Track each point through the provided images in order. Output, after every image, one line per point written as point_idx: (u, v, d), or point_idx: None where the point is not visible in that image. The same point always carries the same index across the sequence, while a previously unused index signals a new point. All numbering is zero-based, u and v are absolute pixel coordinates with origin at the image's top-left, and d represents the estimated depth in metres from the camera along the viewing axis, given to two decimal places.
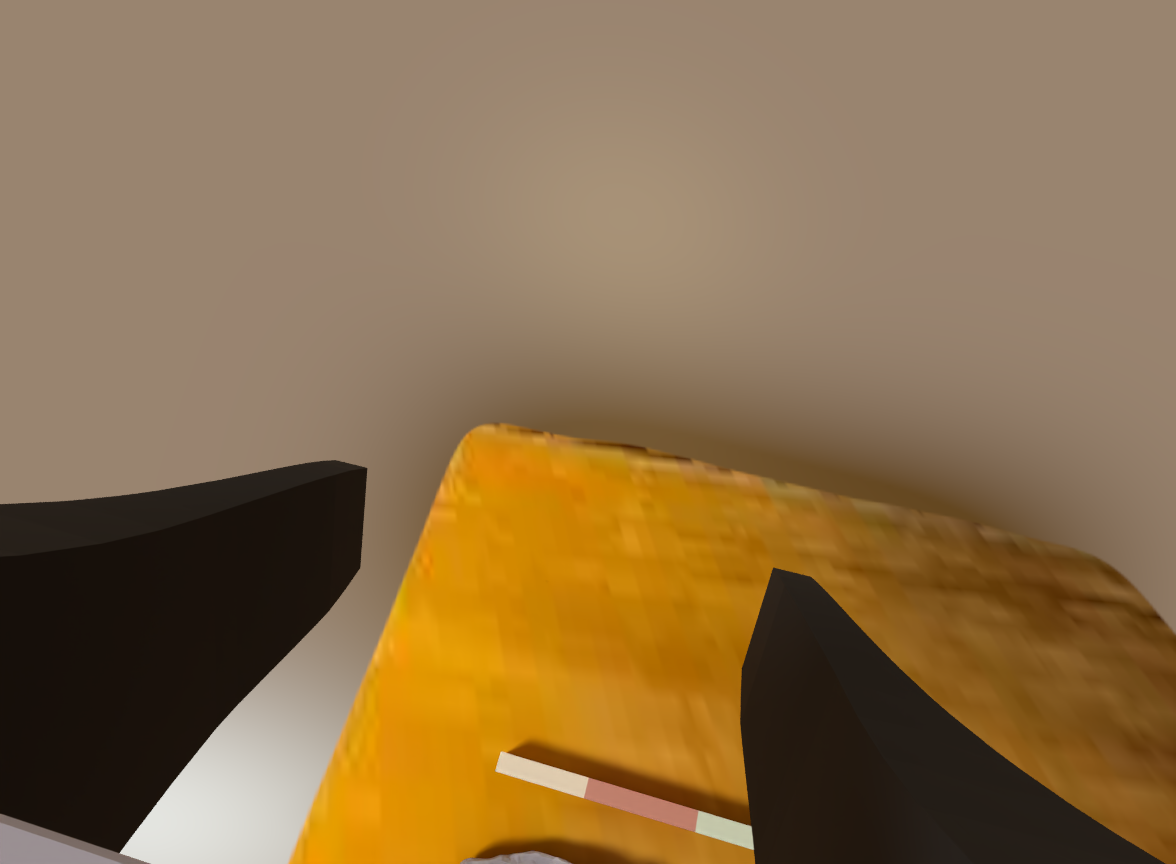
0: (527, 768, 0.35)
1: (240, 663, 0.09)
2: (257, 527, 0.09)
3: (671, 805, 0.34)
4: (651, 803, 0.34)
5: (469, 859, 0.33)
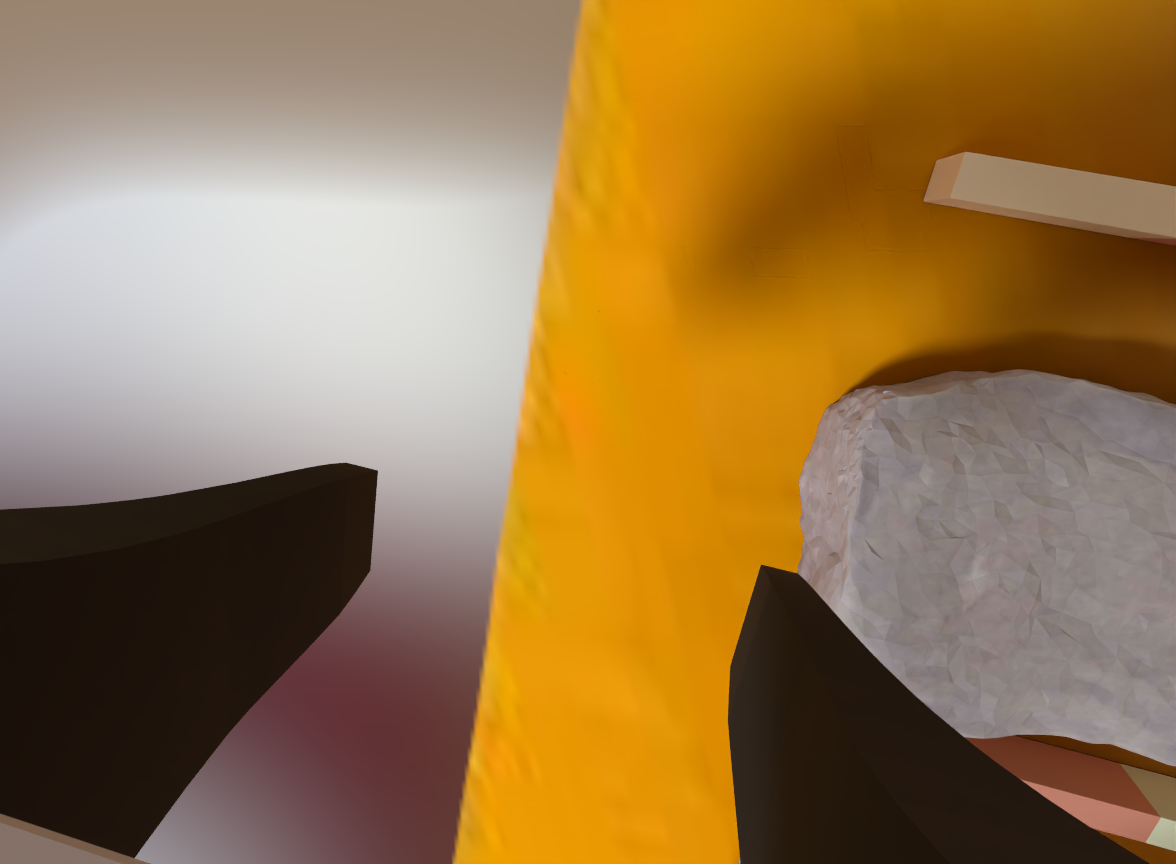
0: (1035, 184, 0.15)
1: (253, 667, 0.09)
2: (270, 530, 0.09)
3: None
4: None
5: (887, 393, 0.16)
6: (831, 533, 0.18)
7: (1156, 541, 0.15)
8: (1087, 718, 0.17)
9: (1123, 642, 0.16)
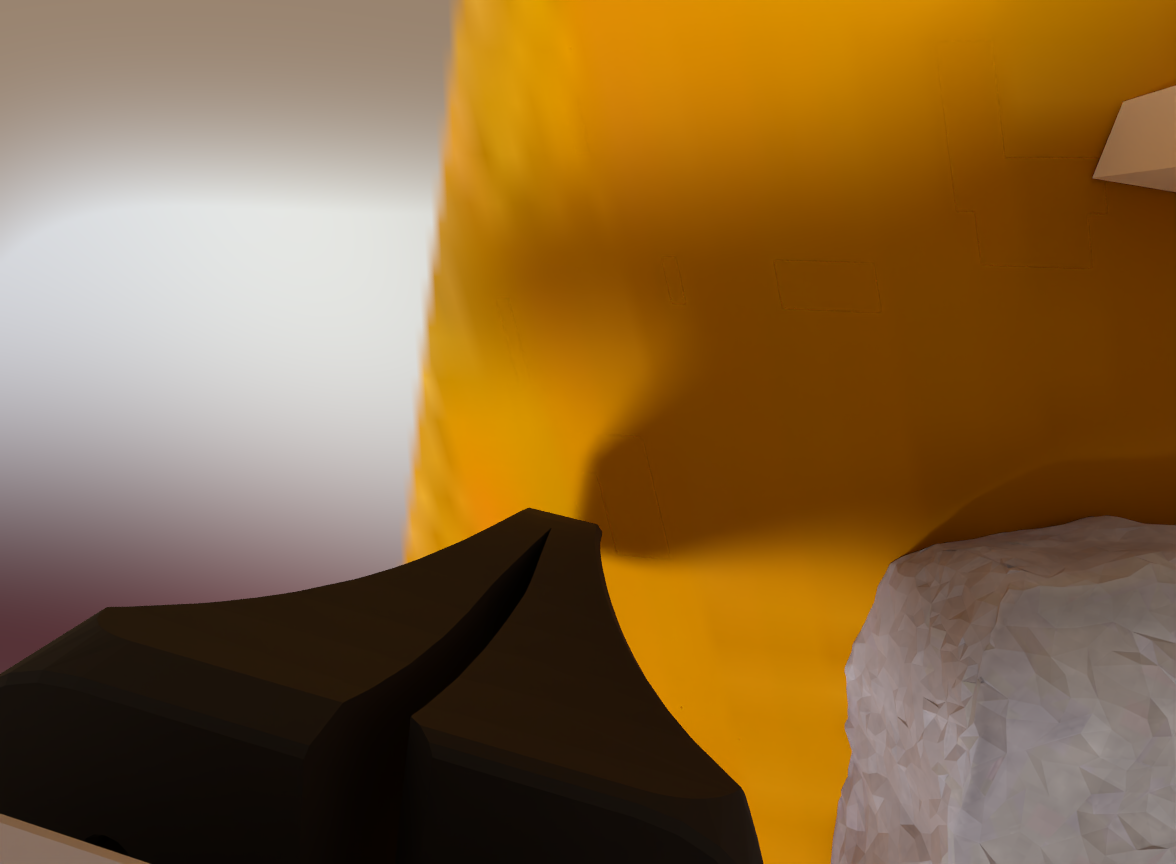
0: None
1: None
2: (507, 592, 0.08)
3: None
4: None
5: (1017, 575, 0.09)
6: (906, 790, 0.10)
7: None
8: None
9: None
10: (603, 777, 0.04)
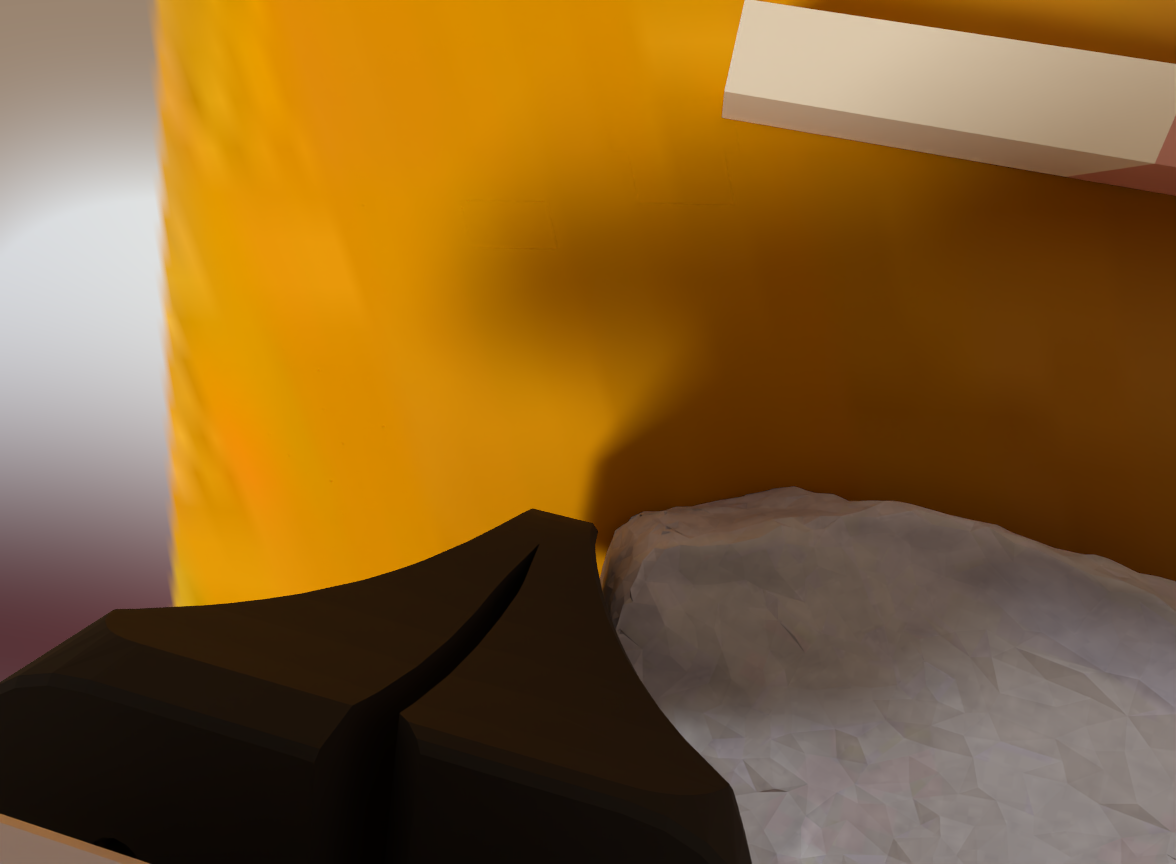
0: (876, 61, 0.08)
1: None
2: (512, 593, 0.08)
3: None
4: None
5: (667, 535, 0.10)
6: None
7: (1111, 820, 0.09)
8: None
9: None
10: (591, 771, 0.04)
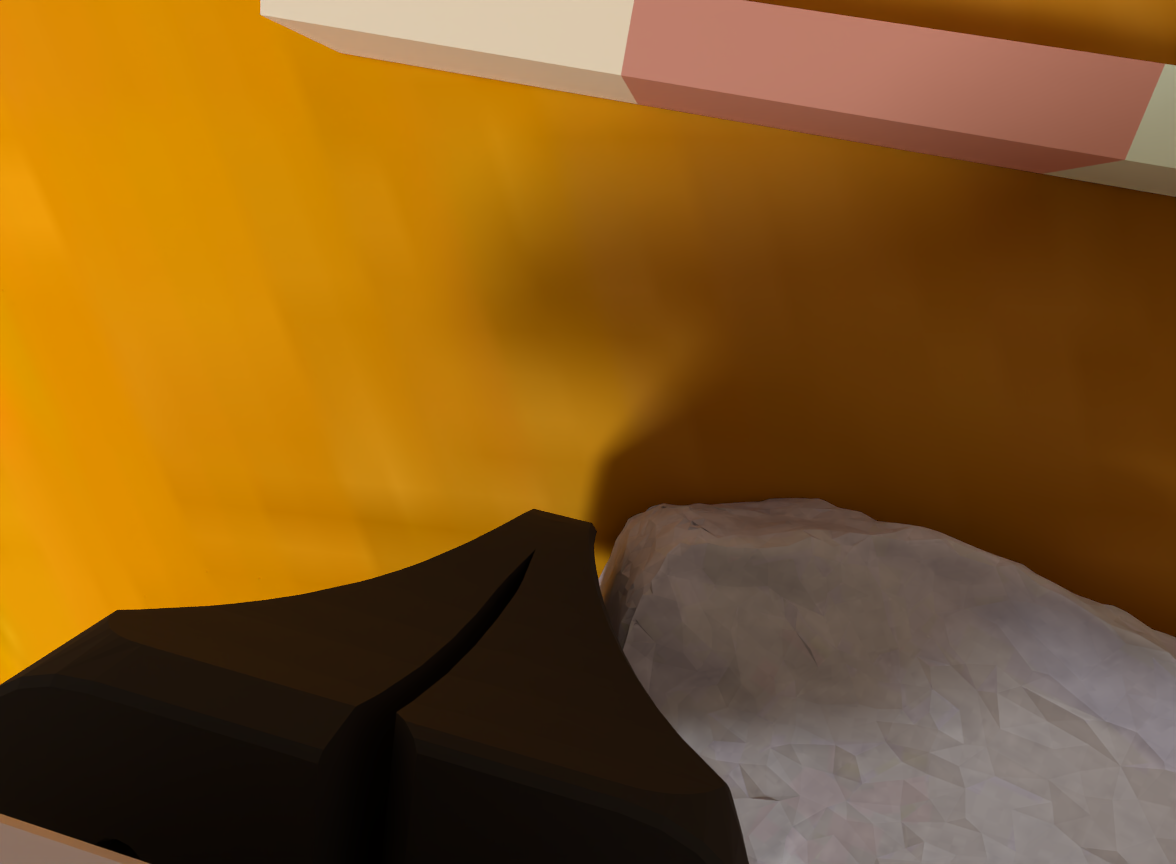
0: None
1: None
2: (514, 594, 0.08)
3: (1026, 56, 0.07)
4: (926, 60, 0.08)
5: (694, 531, 0.10)
6: None
7: None
8: None
9: None
10: (586, 770, 0.04)
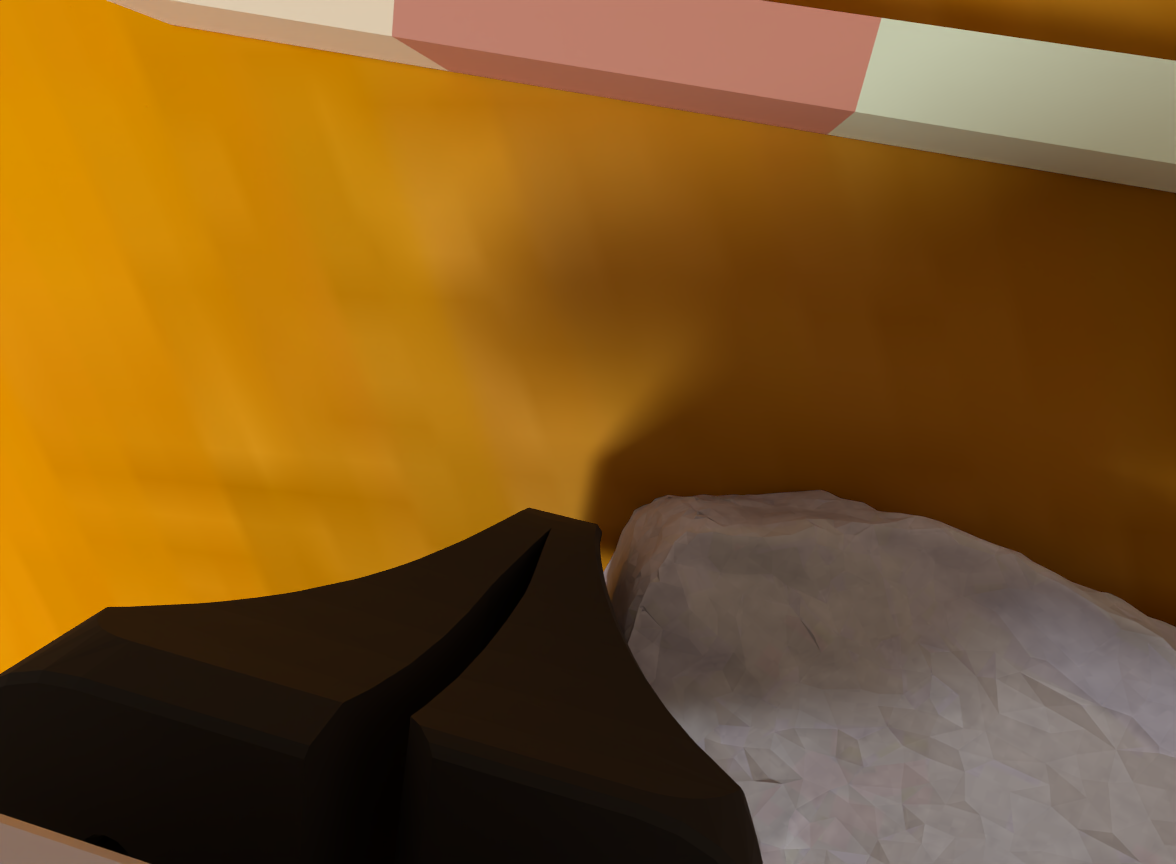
0: None
1: None
2: (507, 593, 0.08)
3: (756, 12, 0.08)
4: (666, 17, 0.08)
5: (700, 521, 0.10)
6: None
7: (1086, 845, 0.09)
8: None
9: None
10: (603, 777, 0.04)
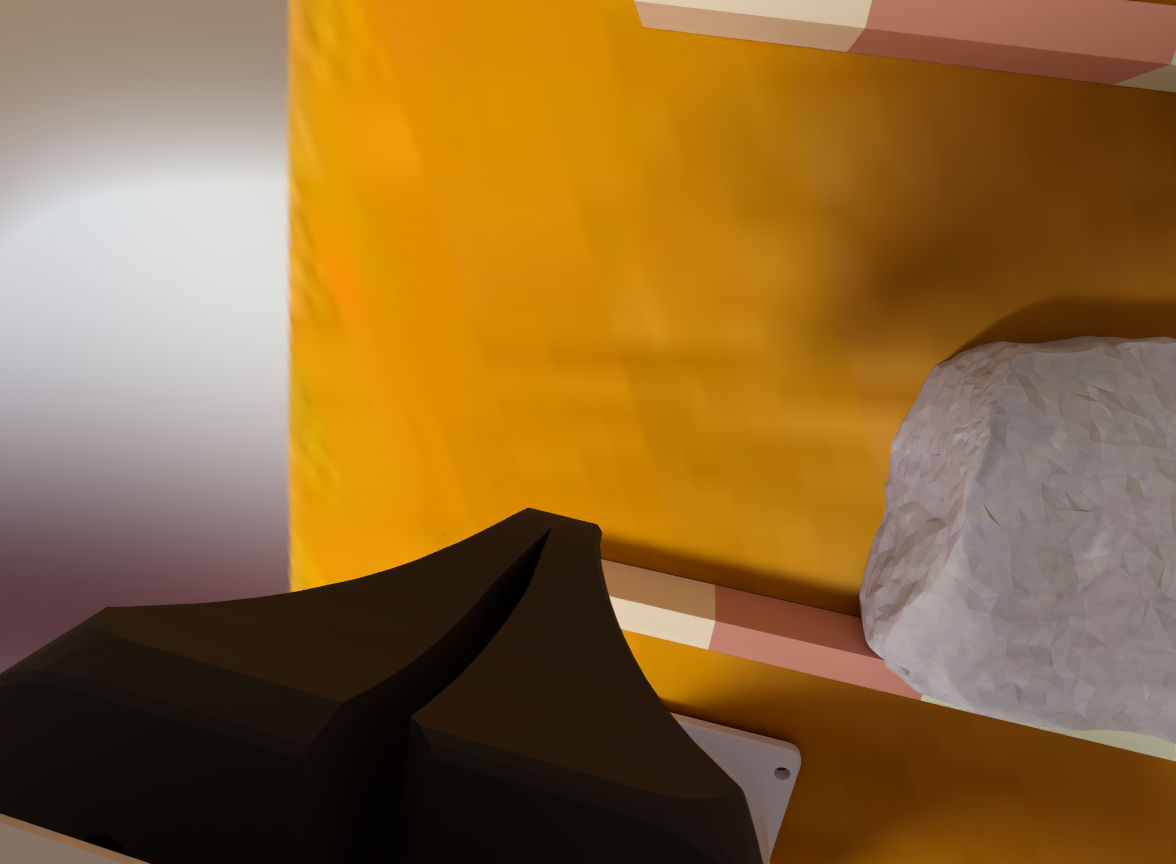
0: None
1: None
2: (507, 592, 0.08)
3: (1112, 6, 0.13)
4: (1053, 11, 0.13)
5: (1023, 348, 0.15)
6: (933, 497, 0.16)
7: None
8: None
9: None
10: (603, 777, 0.04)
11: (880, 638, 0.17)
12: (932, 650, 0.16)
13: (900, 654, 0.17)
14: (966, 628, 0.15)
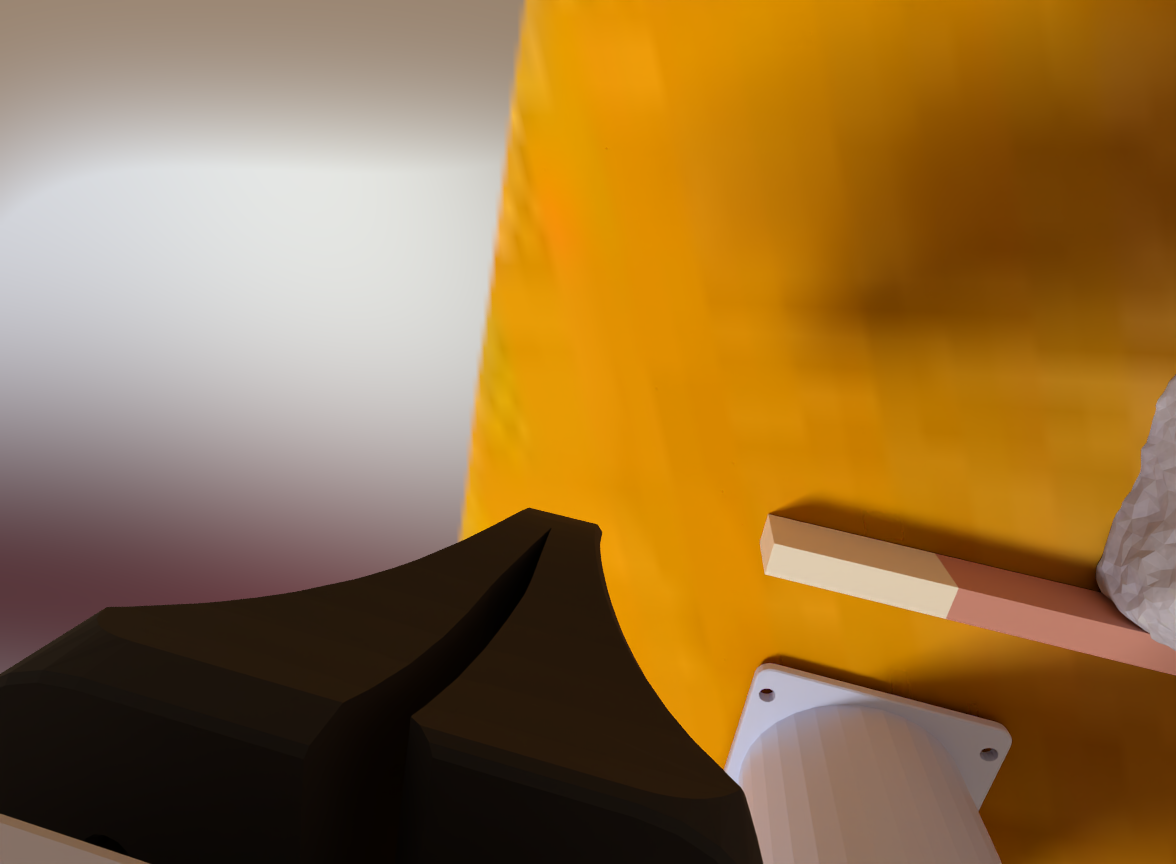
0: None
1: None
2: (507, 593, 0.08)
3: None
4: None
5: None
6: None
7: None
8: None
9: None
10: (603, 777, 0.04)
11: (1156, 605, 0.16)
12: None
13: None
14: None
